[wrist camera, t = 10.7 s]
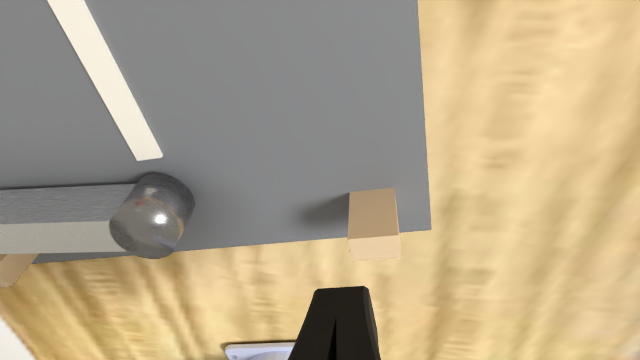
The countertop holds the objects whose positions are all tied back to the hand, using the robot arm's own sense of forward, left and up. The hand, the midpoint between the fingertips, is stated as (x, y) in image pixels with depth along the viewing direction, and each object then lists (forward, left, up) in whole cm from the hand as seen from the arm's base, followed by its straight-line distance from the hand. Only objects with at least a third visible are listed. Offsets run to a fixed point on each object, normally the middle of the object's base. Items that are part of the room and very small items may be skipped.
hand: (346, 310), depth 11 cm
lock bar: (-1, +14, -7) cm, 15 cm away
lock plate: (+3, +9, -9) cm, 13 cm away
